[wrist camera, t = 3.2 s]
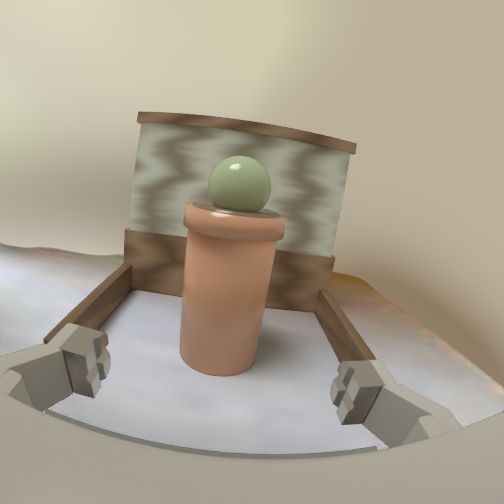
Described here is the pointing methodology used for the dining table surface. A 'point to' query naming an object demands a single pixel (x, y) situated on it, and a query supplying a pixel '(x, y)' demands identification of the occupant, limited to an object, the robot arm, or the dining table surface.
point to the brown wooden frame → (196, 189)
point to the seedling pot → (228, 268)
